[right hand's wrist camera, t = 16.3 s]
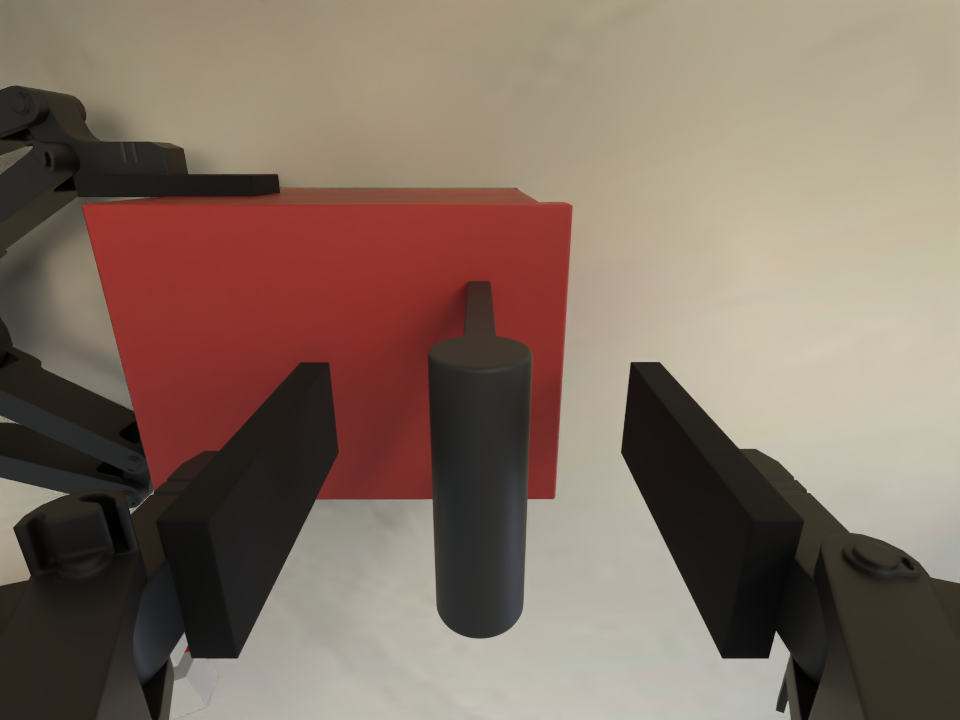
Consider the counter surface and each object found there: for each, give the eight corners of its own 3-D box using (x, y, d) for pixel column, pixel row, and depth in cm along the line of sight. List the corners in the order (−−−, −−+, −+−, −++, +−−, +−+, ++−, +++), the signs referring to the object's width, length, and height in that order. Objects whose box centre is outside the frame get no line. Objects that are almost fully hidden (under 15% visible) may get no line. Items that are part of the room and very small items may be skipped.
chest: (516, 187, 27) (540, 201, 16) (511, 373, 30) (529, 481, 20) (251, 187, 27) (107, 201, 16) (278, 373, 30) (174, 481, 20)
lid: (566, 201, 16) (660, 239, 8) (551, 481, 20) (604, 711, 11) (106, 202, 16) (-289, 239, 8) (173, 482, 20) (-50, 713, 11)
